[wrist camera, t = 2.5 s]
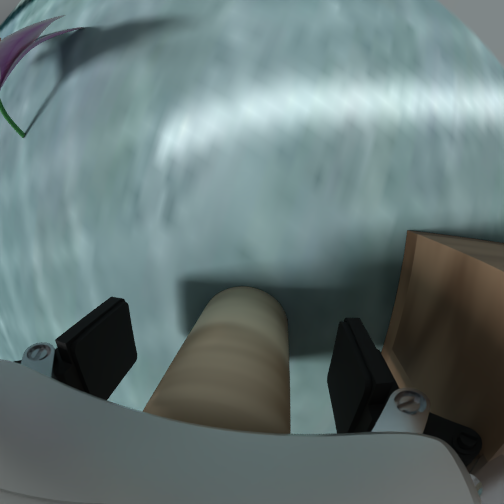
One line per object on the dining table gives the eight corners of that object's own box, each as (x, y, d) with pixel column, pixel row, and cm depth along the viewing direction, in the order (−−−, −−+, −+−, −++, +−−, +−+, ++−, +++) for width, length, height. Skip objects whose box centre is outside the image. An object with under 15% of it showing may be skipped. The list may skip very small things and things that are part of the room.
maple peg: (283, 363, 13) (280, 486, 6) (204, 355, 13) (154, 465, 6) (292, 289, 12) (301, 408, 5) (201, 282, 12) (124, 381, 5)
